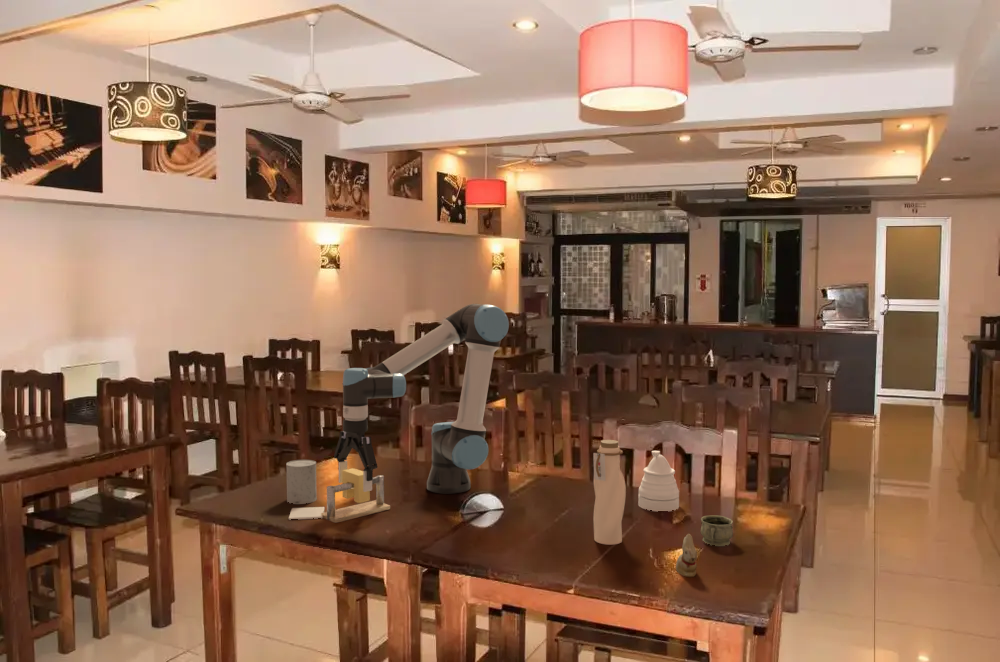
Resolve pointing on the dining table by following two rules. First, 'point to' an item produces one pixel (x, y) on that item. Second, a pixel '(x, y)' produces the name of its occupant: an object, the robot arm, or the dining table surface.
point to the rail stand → (357, 509)
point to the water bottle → (608, 493)
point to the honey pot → (658, 486)
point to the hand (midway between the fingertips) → (355, 486)
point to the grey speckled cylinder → (301, 481)
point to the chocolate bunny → (687, 558)
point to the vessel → (716, 530)
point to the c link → (355, 485)
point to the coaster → (306, 513)
